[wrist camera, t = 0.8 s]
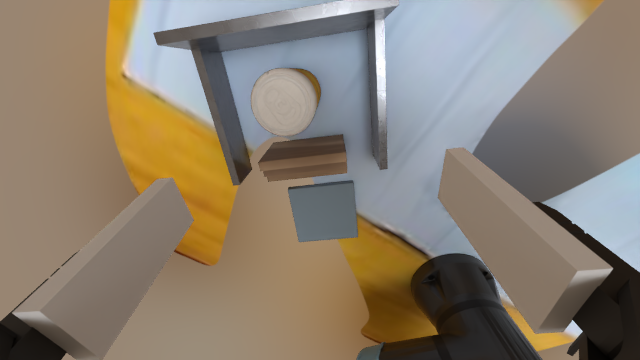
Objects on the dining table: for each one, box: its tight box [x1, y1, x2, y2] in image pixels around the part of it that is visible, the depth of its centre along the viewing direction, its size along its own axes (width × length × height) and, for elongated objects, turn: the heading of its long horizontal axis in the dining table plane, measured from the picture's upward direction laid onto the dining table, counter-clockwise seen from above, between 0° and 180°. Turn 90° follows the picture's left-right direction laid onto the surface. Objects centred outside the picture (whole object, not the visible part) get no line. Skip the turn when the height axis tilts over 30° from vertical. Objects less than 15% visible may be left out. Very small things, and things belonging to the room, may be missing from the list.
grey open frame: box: [154, 0, 399, 185], centre depth 30 cm, size 18×22×12 cm
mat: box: [288, 181, 358, 242], centre depth 43 cm, size 11×11×1 cm
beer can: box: [251, 68, 321, 136], centre depth 28 cm, size 6×6×15 cm
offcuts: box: [258, 134, 347, 182], centre depth 35 cm, size 4×11×9 cm, turn 98°
